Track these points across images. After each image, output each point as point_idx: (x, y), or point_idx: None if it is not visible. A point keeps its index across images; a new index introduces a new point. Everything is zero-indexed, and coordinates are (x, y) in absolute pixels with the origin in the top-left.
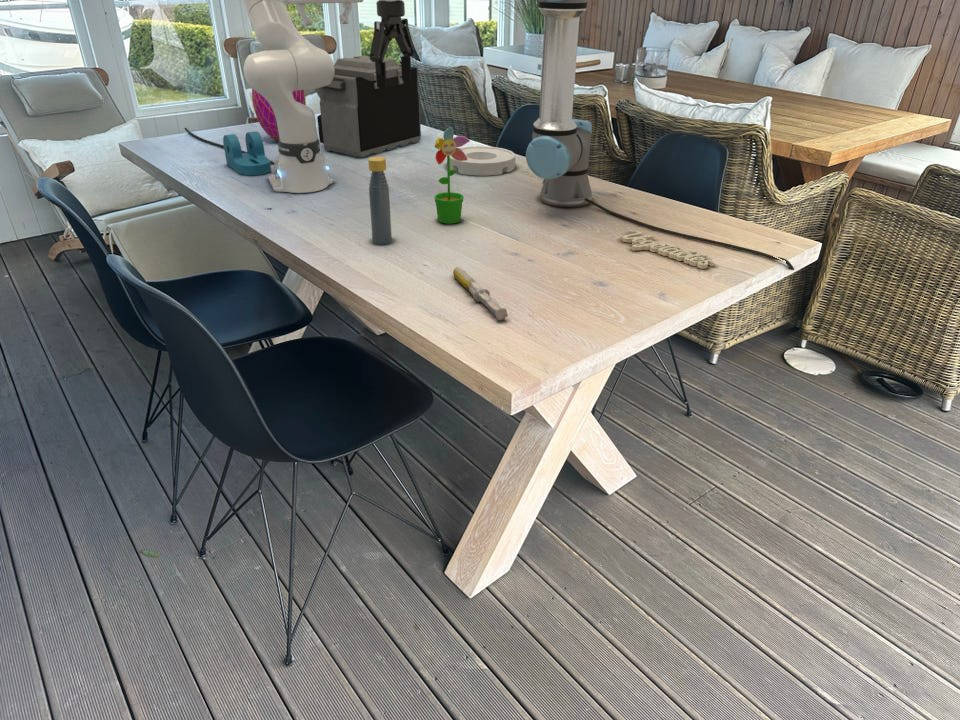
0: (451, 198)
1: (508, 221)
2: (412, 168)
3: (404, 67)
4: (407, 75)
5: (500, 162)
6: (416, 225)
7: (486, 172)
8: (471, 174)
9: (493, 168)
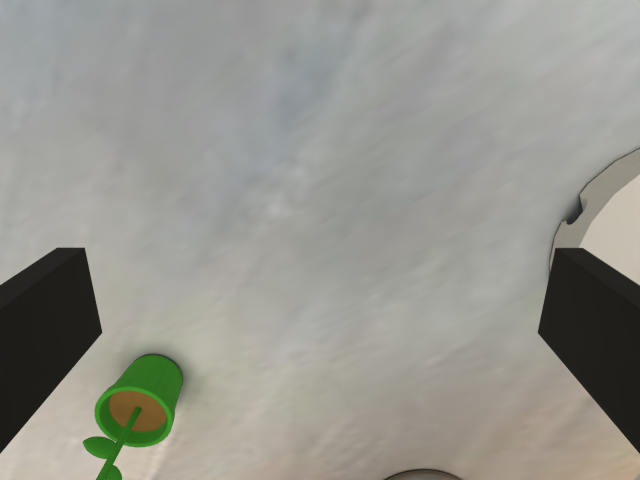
0: (160, 405)
1: (227, 467)
2: (583, 37)
3: (635, 359)
4: (569, 339)
5: None
6: None
7: None
8: (550, 266)
9: None
